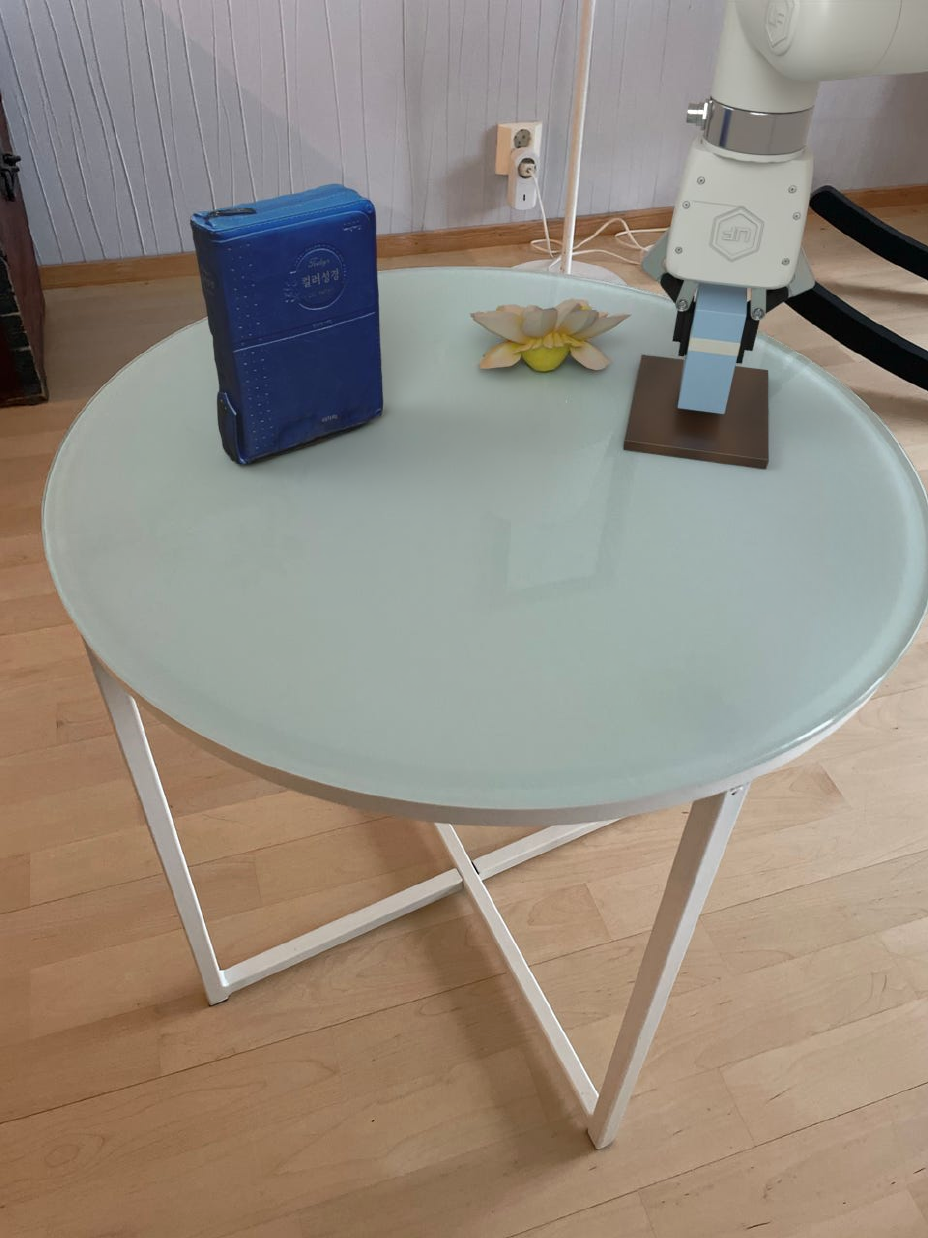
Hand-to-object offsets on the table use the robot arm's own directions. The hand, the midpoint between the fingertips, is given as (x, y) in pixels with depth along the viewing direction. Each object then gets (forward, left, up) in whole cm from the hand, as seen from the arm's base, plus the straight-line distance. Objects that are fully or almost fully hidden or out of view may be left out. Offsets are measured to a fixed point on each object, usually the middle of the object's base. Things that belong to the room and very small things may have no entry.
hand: (710, 350), depth 86 cm
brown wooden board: (0, 0, -6) cm, 6 cm away
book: (+33, +13, -6) cm, 36 cm away
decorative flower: (+15, -6, -6) cm, 17 cm away
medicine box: (0, 0, -4) cm, 4 cm away
